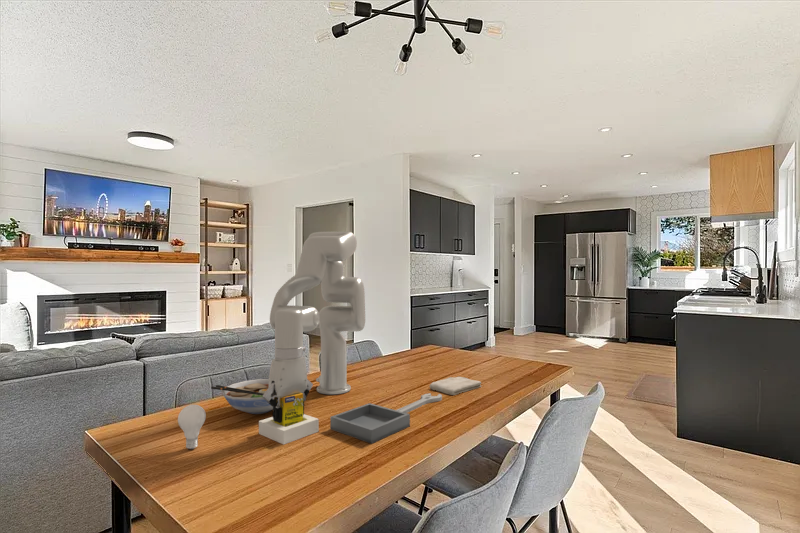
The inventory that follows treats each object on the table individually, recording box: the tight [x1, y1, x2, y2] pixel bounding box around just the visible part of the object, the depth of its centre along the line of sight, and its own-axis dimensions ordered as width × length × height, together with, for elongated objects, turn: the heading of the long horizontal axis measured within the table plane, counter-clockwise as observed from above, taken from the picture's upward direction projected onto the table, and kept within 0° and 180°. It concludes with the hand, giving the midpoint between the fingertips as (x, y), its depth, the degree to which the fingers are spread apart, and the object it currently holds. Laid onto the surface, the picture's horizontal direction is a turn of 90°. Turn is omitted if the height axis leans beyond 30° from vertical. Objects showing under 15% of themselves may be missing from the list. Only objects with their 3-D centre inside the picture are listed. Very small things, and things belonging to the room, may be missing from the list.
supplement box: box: [275, 393, 303, 427], centre depth 118 cm, size 6×6×11 cm
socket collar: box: [258, 413, 320, 445], centre depth 118 cm, size 12×12×4 cm
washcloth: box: [429, 376, 482, 396], centre depth 163 cm, size 12×18×3 cm, turn 133°
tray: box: [330, 402, 411, 445], centre depth 121 cm, size 16×16×4 cm
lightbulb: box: [177, 404, 207, 450], centre depth 107 cm, size 6×6×11 cm
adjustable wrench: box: [396, 392, 443, 414], centre depth 141 cm, size 25×6×2 cm, turn 139°
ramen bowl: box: [210, 378, 274, 415], centre depth 137 cm, size 25×23×8 cm
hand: (288, 417), depth 118 cm, fingers closed on supplement box, 6 cm apart
